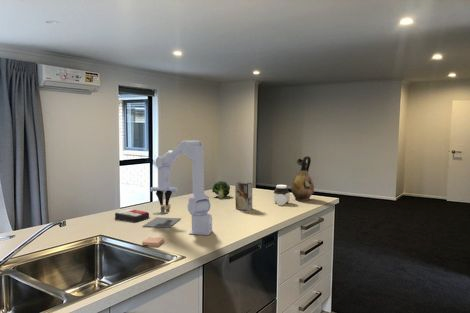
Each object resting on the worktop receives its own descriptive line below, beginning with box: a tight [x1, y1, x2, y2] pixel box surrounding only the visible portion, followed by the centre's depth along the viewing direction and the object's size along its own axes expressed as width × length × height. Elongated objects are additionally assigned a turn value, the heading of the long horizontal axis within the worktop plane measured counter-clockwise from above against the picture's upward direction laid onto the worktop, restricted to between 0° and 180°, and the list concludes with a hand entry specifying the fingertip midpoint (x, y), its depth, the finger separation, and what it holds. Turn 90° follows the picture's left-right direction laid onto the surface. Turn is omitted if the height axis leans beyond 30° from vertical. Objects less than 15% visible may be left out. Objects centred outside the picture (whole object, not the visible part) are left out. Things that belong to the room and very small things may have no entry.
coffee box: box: [234, 181, 253, 211], centre depth 224 cm, size 9×6×16 cm
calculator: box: [114, 208, 150, 223], centre depth 202 cm, size 11×4×15 cm
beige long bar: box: [152, 203, 172, 216], centre depth 193 cm, size 14×6×4 cm, turn 170°
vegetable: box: [211, 180, 231, 199], centre depth 264 cm, size 12×13×15 cm
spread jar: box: [273, 184, 291, 206], centre depth 238 cm, size 12×11×12 cm
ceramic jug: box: [290, 155, 315, 202], centre depth 251 cm, size 17×15×30 cm
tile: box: [141, 236, 165, 247], centre depth 157 cm, size 7×2×7 cm
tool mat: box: [142, 216, 182, 229], centre depth 191 cm, size 14×18×1 cm
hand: (164, 205), depth 193 cm, fingers closed on beige long bar, 2 cm apart
